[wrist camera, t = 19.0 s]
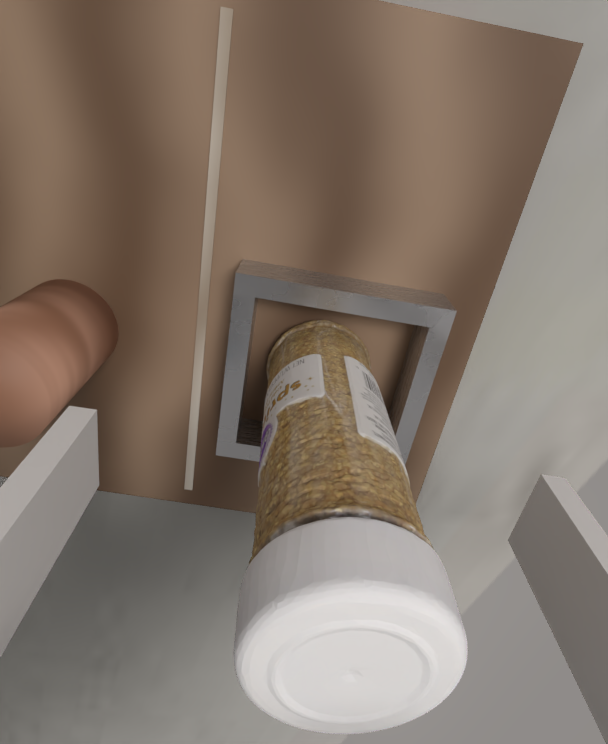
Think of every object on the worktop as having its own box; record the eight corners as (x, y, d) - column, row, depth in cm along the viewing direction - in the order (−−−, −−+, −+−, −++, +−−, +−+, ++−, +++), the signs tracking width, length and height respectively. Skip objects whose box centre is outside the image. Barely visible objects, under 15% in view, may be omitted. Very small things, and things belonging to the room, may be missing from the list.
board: (-181, 428, 25) (-361, 538, 18) (-380, -148, 15) (-926, -362, 8) (399, 514, 27) (427, 642, 20) (562, 49, 17) (722, 1, 10)
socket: (223, 429, 23) (215, 454, 21) (243, 258, 19) (235, 272, 17) (392, 455, 23) (399, 483, 21) (443, 294, 20) (456, 311, 18)
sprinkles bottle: (261, 321, 20) (213, 602, 8) (371, 313, 20) (487, 586, 8) (271, 415, 22) (245, 752, 10) (371, 408, 22) (464, 740, 10)
